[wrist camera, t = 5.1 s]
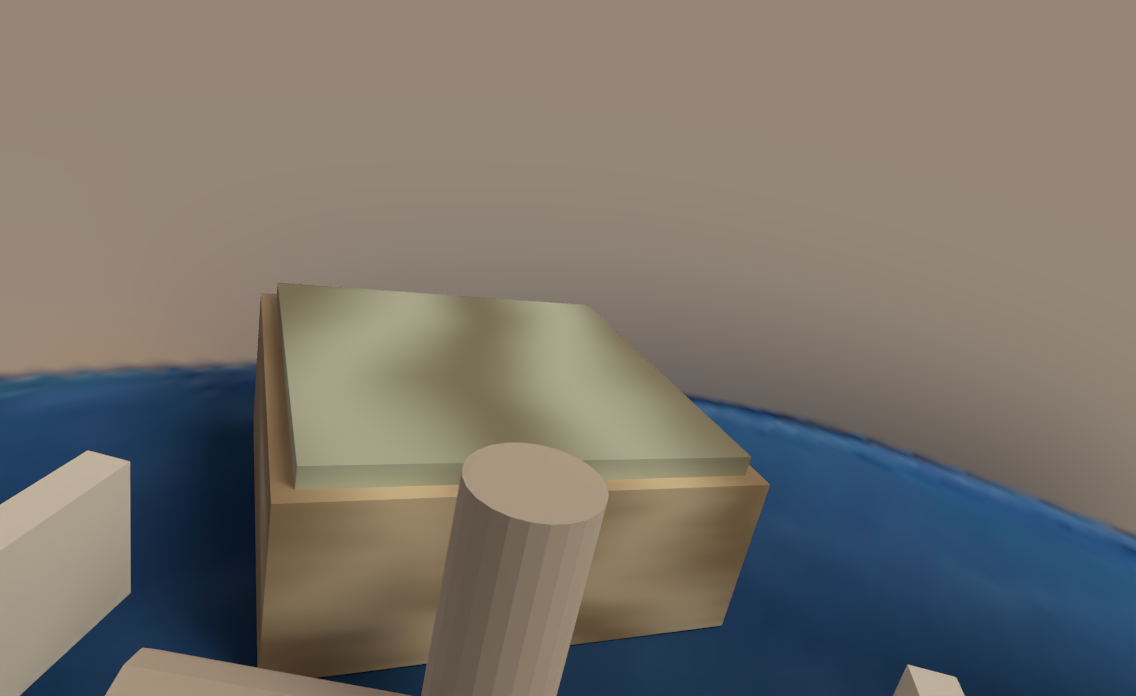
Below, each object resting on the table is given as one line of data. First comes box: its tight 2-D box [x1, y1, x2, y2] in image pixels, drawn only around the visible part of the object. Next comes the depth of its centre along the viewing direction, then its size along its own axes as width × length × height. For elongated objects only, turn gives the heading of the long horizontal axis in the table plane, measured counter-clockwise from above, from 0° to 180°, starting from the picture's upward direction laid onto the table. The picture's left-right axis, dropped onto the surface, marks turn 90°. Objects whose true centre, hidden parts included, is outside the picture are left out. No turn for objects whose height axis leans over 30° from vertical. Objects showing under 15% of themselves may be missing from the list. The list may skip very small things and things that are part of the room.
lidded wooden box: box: [253, 283, 770, 678], centre depth 25 cm, size 13×13×6 cm
